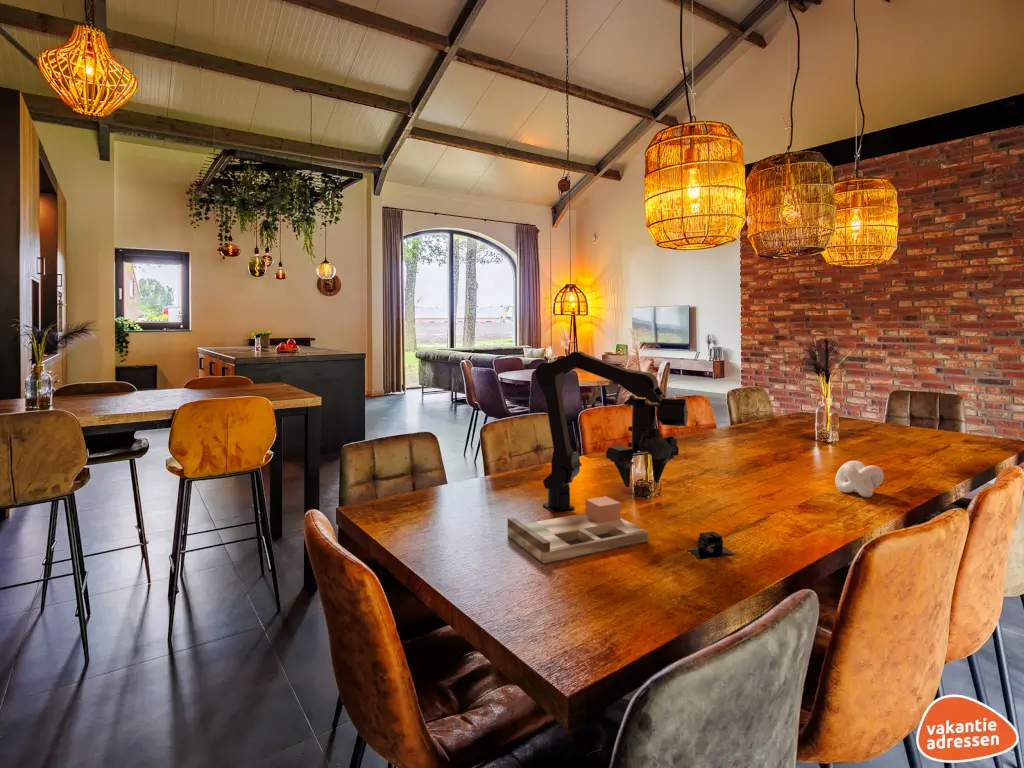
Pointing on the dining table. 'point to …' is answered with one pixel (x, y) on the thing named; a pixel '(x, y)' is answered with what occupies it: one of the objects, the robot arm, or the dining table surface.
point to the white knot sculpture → (858, 478)
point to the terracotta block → (603, 509)
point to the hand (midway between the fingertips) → (642, 484)
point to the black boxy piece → (712, 551)
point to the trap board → (573, 537)
